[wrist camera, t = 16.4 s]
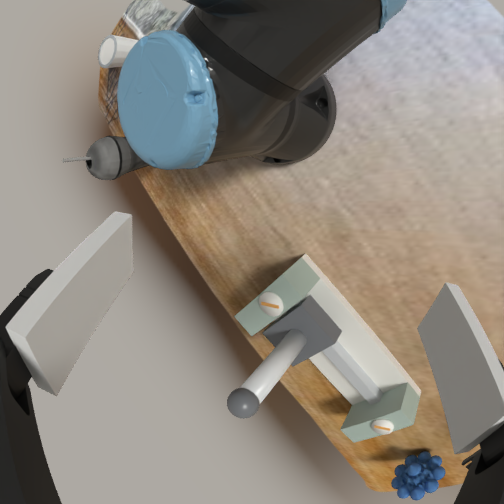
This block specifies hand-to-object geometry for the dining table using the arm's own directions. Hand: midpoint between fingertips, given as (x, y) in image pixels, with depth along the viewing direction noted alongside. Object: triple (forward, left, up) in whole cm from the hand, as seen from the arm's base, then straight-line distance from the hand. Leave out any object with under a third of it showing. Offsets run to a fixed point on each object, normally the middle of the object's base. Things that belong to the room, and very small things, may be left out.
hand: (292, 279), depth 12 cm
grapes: (+45, -24, -29) cm, 59 cm away
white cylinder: (-51, -12, -29) cm, 59 cm away
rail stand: (+14, -22, -29) cm, 39 cm away
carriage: (+8, -22, -25) cm, 34 cm away
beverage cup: (-32, -23, -29) cm, 49 cm away
